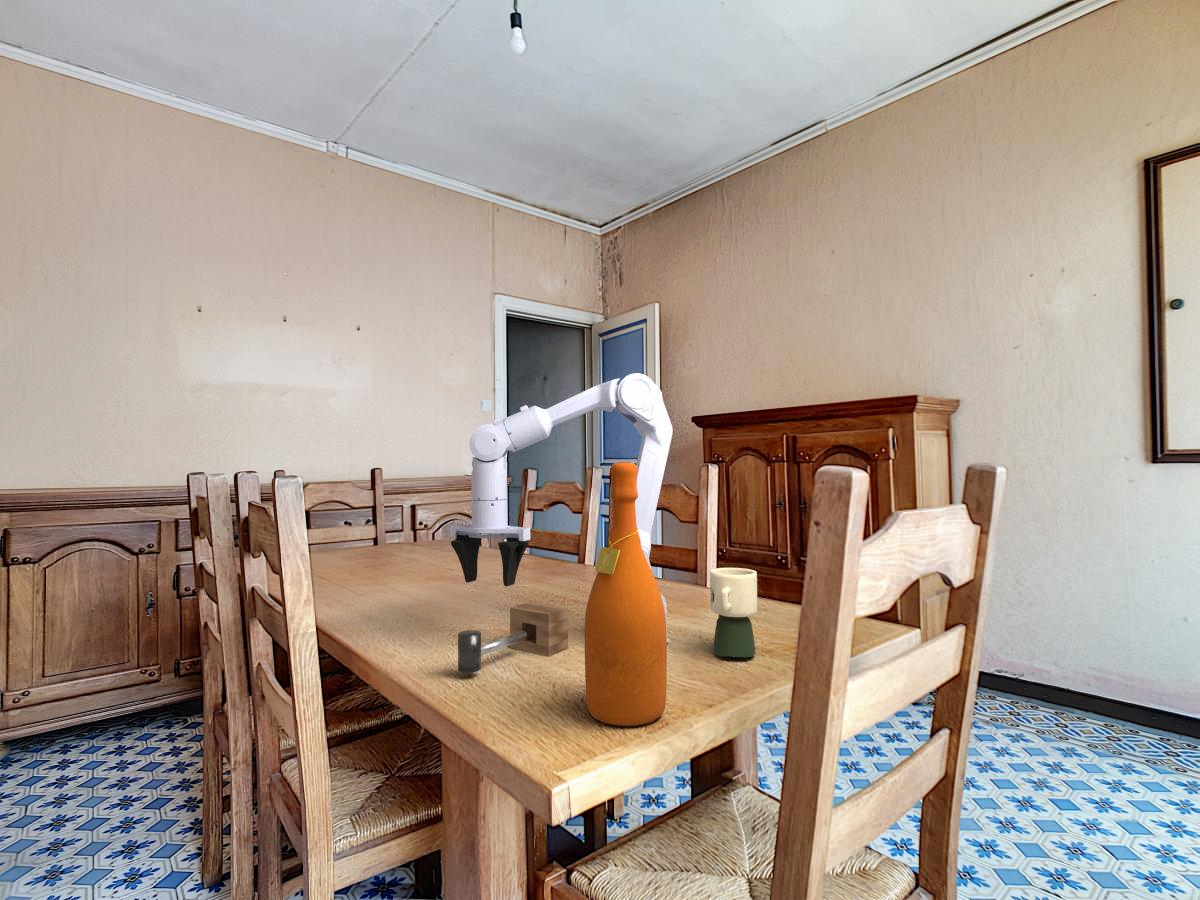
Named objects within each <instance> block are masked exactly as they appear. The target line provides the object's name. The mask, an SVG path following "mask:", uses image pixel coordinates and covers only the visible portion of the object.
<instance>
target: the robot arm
mask: <svg viewBox="0 0 1200 900" xmlns="http://www.w3.org/2000/svg"><path fill="white" fill-rule="evenodd" d="M619 381H620V378H615V379H612V380H611V379H610V380H609V381H605V382H603V383H600V384H596V385H595V386H592V387H591V388H588V389H586V390H584V391H581V392H580V393H578V394H575V395H573V396H572V397H570V398H567V399H565V400H563V401H561V402H559V403H556V404H554V405H552V406H550V407H548V408H546V409H544V408H542V407H539V406H538V405H537V406H536V405H533V406H530V407H528V405H523V406H520V407H519V410H520V411H519V412H516V413H513V414H512V415H510V416H507V417H505V418H503V419H500V418H499V417H498V418H495V419H493V421H492V422H493V424H489V423H488V424H487V423H486V424H481V426H480V427H478V428H477V429H475V430H474V431H473V433H472V434H471V435H470V436H469V437H470V438H469V449H470V451H471V453H472V455H473V456H472V461H471V468H472V471H471V473H470V474H471V476H470V477H471V524H453V525H450V538H455V539H453V540H451V541H450V545H451V547H452V549H453V550H454V551H455V554H456V557H457V558H458V560H459V563H460V565H461V569H462V573H463V577H464V581H465V583H467V584H468V583H472V582H475V581H477V578H478V560H479V559H478V558H479V552H480V551H479V550H480V547H481V546H480V545H481V543H482V539H488V540H489V539H491V540H492V539H493V540H505V541H500V542H498V543H497V546H498V549H499V553H500V556H501V563H502V581H503V586H504V587H510V586H514V585H515V584H516V583H515V582H516V578H517V574H518V570H519V567H520V563H521V561H522V558H523V556H524V554H525V552H526V550H527V548H528V546H529V541H530V540H531V527H523V526H515V525H514V526H513V525H508V473H507V470H506V455H507V453H508V451H510V452H512V453H515V452H518V451H520V450H522V449H525V448H527V447H529V446H532V445H534V444H537V443H539V442H541V441H543V440H546V439H548V438H549V437H550V434H551V432H552V429H553V427H555V426H558V425H560V424H563V423H566V422H569V421H571V420H573V419H575V418H577V417H581V416H583V415H586V414H588V413H591V412H593V411H597V410H598V411H603V412H604V411H605V412H613V411H614V410H616V411H617V412H618V414H620V415H622V416H623V417H624V418H626V420H628V421H630V423H632V425H633V426H634V428H635V430H637V431H638V434H640V436H641V442H640V447H639V450H638V456H637V460H636V464H635V465H636V466H637V468H638V474H637V492H638V498H637V499H636V500H635V511H636V524H637V528H638V532H639V537H640V540H641V547H642V550H643V552H644V555H645V557H646V560H647V562H648V564H649V566H650V569H651V570H652V567H651V562H650V553H651V550H652V549H651V548H652V545H651V544H652V543H651V537H652V536H651V534H652V529H653V525H654V521H655V520H654V519H655V516H656V512H657V506H658V503H659V502H658V501H659V497H660V493H661V489H662V485H663V478H664V474H665V471H666V470H665V469H666V465H667V462H668V457H669V452H670V447H671V442H672V438H673V430H674V429H673V426H672V423H671V419H670V417H669V414H668V411H667V408H666V406H665V402H664V398H663V393H662V391H661V389H660V388H659V387H658V386H657V385H656V384H655V382H654V381H653V380H652V379H651V378H650V377H649V376H648V375H645V374H644V373H643V374H642V373H638V372H637V373H630V374H628V375H626V376H625V377H624V378H622V380H621V381H620V382H619ZM618 382H619V383H618ZM660 594H661V597H662V601H663V605H664V609H665V616H666V630H667V631H668V605H667V604H668V603H667V601H666V597H665V596H664V595H663V594H662V593H660ZM669 642H670V639H669V638H667V644H668V643H669Z"/></svg>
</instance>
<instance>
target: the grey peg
mask: <svg viewBox="0 0 1200 900" xmlns="http://www.w3.org/2000/svg"><path fill="white" fill-rule="evenodd" d="M526 638H527V633H526V632H525V631H520V632H517V633H514V634H511V635H510V634H509V635H506V636H502V637H501V638H497V639H495V640H492V641H489V642H486V643H484V644H482V631H480V630H475V629H469V630H462V631H459V632H458V633H457V671H458V672H460V673H463V674H473V673H476V672H479V671H481V670H482V656H484V655H487V654H490V653H492V652H493V653H494V652H496V651H498V650H500V649H504V648H505V647H510V645H512V644H514V643H517V642H520V641H522V640H525V639H526Z"/></svg>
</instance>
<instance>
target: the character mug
mask: <svg viewBox="0 0 1200 900" xmlns="http://www.w3.org/2000/svg"><path fill="white" fill-rule="evenodd" d="M709 571H710V572H709V579H710V580H709V581H710V582H709V589H710V603H709V607H710V610H711V611H712V612H713V613H714V614H717V616H718V618H717V619H716V625H715V631H714V638H713V639H714V641H713V650H712V651H713V652H714V654H715V655H717V656H719V657H729V659H730V660H733V659H734V658H735V657H736V658H750V657H754V656H755V655H756V646H755V637H754V636H755V635H754V630H753V624H752V621H751V619H750V617H751V616H755V615H756V614H757V612H758V575H757V574H758V573H757V571H756V570H753V569H749V568H740V567H719V568H712V569H710V570H709Z"/></svg>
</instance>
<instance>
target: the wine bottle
mask: <svg viewBox="0 0 1200 900" xmlns="http://www.w3.org/2000/svg"><path fill="white" fill-rule="evenodd" d="M609 474H610V481H611V488H610V489H611V491H610V498H611V500H612V502H613V515H612V525H611V528H610V529H611V530H610V533H609V535H608V546H607V547H605V546H601V547H600V550H599V554H598V557H597V560H596V565H595V569H594V570H595V573H596V572H597V574H596V576H595V578H594V581H593V583H592V587H591V589H590V593H589V595H588V599H587V603H586V608H585V616H584V633H583V634H584V674H585V675H584V677H585V697H586V698H585V699H586V707H587V710H588V712H589V714H590V715H591V716H592V717H593V718H595V719H596V720H598V721H600V722H602V723H605V724H608V725H613V726H620V727H621V726H622V727H630V726H631V727H632V726H642V725H646V724H649V723H652V722H654V721H655V720H657V719H658V718H660V717H661V716H662V715H663V713H664V712H665V709H666V703H667V675H668V674H667V673H668V670H667V668H668V664H667V663H668V657H667V656H668V655H667V654H668V650H667V649H668V648H667V647H668V646H667V645H668V643H667V639H668V629H667V630H666V616H665V609H664V605H663V601H662V597H661V594H662V593H661V592H660V588H659V586H658V583H657V580H656V578H655V575H654V574H653V571H652V568H651V569H650V566H651V565H650V566H649V564H648V562H647V560H646V557H645V555H644V552H643V550H642V547H641V540H640V537H639V532H638V528H637V524H636V511H635V500H636V499H637V498H638V492H637V474H638V468H637V466H636V464H635V463H634V462H631V461H617V462H614V463H612V465H610V468H609Z"/></svg>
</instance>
